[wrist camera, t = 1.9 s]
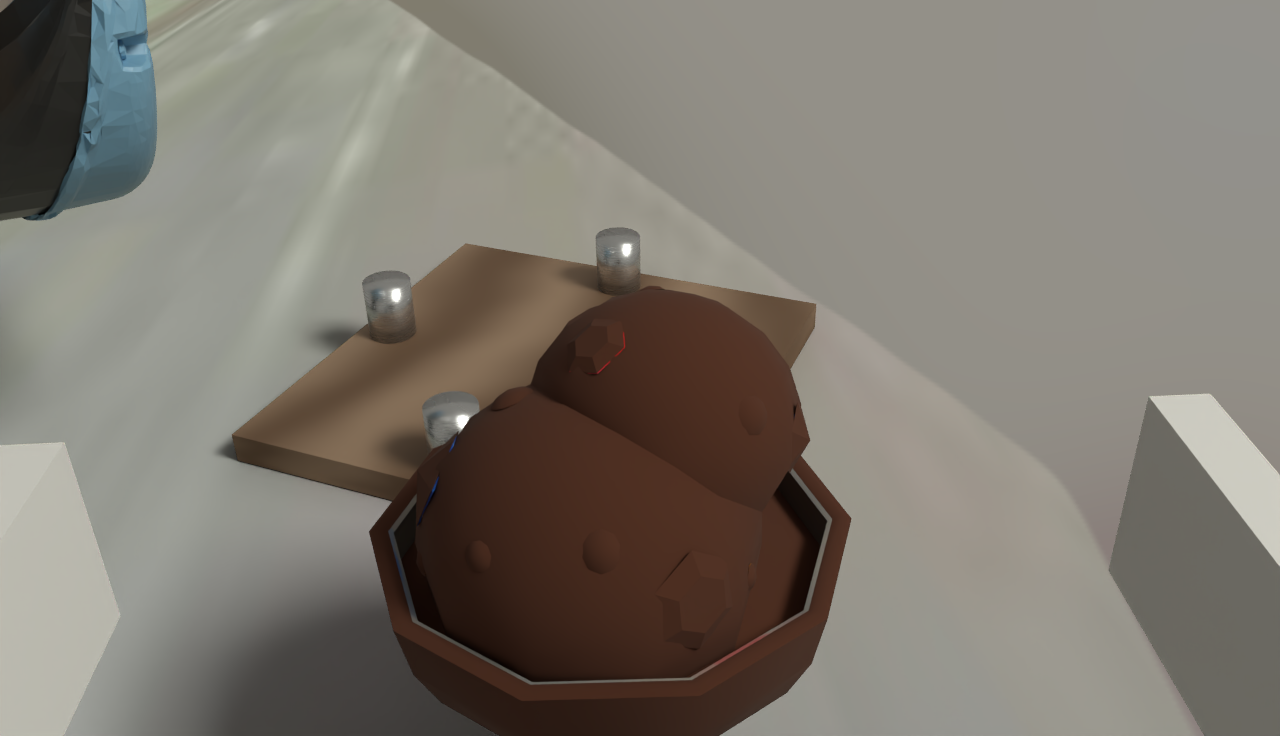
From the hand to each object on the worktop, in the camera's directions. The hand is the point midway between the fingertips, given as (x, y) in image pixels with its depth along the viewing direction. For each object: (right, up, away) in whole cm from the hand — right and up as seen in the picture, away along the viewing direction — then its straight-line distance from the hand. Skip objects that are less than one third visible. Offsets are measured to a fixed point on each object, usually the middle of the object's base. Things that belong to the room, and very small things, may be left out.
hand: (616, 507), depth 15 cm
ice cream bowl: (0, -10, +18) cm, 20 cm away
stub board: (-4, +1, +35) cm, 36 cm away
